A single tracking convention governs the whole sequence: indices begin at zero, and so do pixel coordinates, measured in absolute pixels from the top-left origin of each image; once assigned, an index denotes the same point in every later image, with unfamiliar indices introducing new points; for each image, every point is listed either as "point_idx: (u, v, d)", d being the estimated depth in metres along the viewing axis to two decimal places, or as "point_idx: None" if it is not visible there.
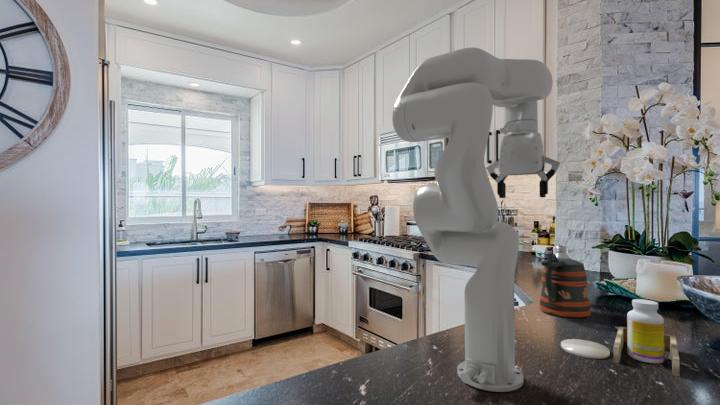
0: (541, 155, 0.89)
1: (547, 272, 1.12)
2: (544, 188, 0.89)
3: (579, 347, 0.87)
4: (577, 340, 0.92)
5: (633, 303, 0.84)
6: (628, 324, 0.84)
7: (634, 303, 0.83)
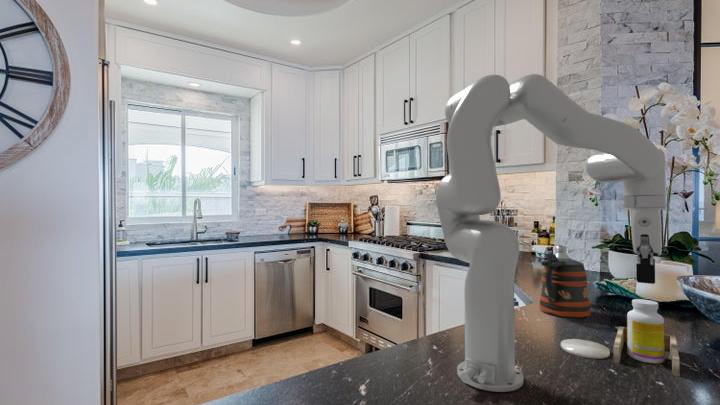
0: None
1: (547, 272, 1.12)
2: None
3: (579, 347, 0.87)
4: (577, 340, 0.92)
5: (633, 303, 0.84)
6: (628, 324, 0.84)
7: (634, 303, 0.83)
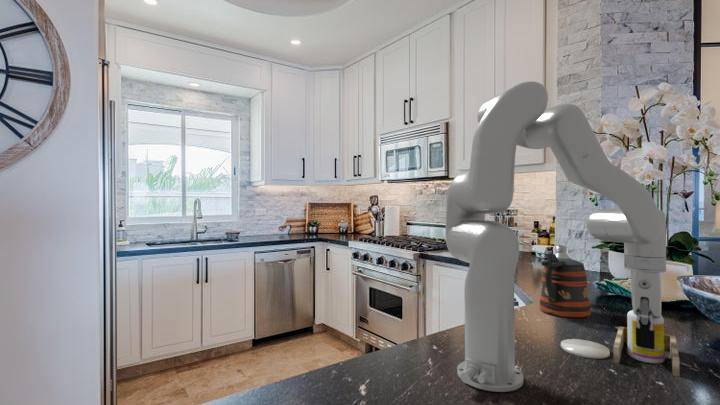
0: None
1: (547, 272, 1.12)
2: None
3: (579, 347, 0.87)
4: (577, 340, 0.92)
5: None
6: (628, 324, 0.84)
7: None
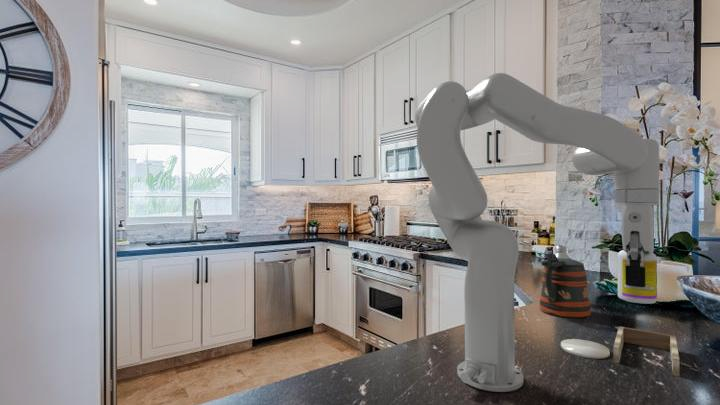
0: None
1: (547, 272, 1.12)
2: None
3: (579, 347, 0.87)
4: (577, 340, 0.92)
5: None
6: (618, 264, 0.78)
7: None
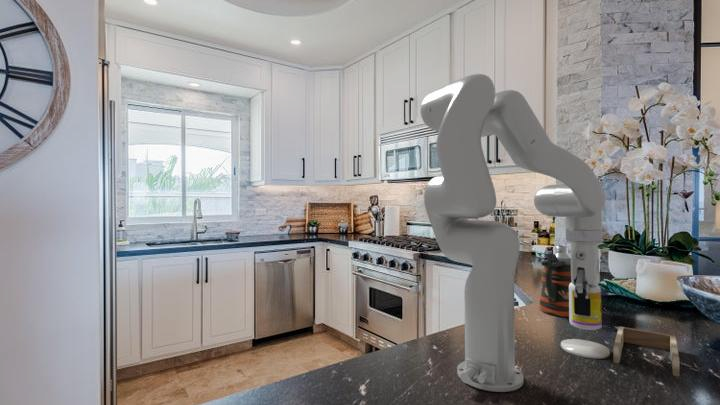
0: None
1: (547, 272, 1.12)
2: None
3: (579, 347, 0.87)
4: (577, 340, 0.92)
5: None
6: (569, 294, 0.89)
7: None
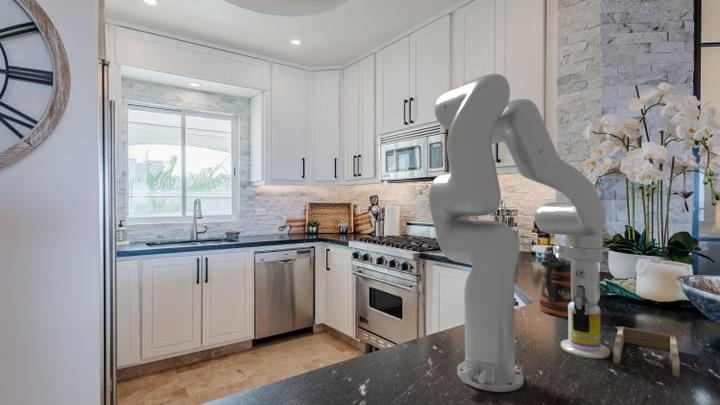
0: None
1: (547, 272, 1.12)
2: None
3: None
4: None
5: None
6: (568, 314, 0.89)
7: None
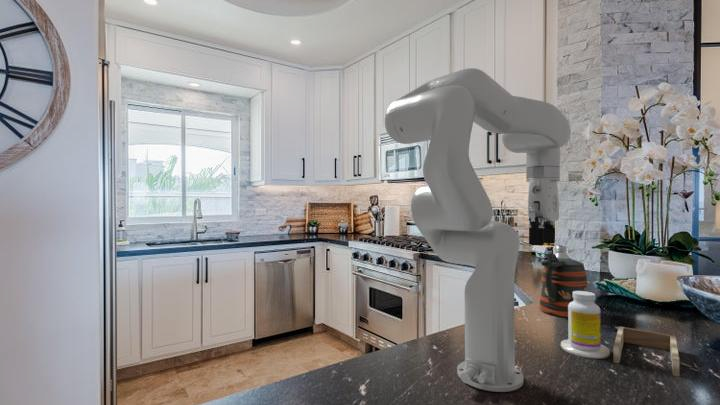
0: None
1: (547, 272, 1.12)
2: None
3: None
4: None
5: (573, 294, 0.88)
6: (568, 314, 0.89)
7: (573, 294, 0.88)
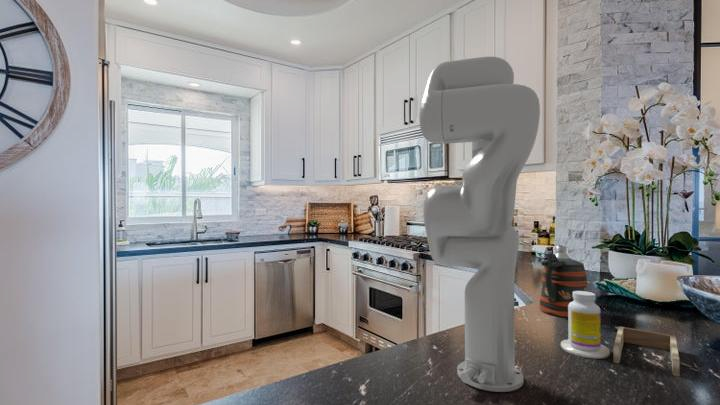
0: None
1: (547, 272, 1.12)
2: None
3: None
4: None
5: (573, 294, 0.88)
6: (568, 314, 0.89)
7: (574, 294, 0.88)
